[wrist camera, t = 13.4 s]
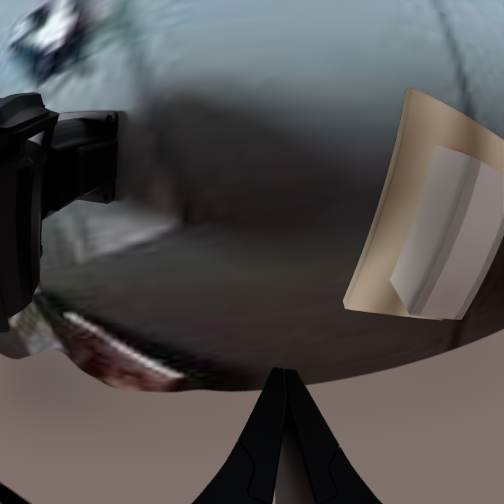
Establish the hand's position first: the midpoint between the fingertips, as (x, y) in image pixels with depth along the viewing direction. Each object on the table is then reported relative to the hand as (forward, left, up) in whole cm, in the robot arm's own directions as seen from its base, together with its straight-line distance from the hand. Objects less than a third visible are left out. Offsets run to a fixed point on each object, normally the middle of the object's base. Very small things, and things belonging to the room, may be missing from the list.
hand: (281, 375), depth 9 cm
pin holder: (+11, +4, -11) cm, 16 cm away
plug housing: (+11, +4, -10) cm, 15 cm away
